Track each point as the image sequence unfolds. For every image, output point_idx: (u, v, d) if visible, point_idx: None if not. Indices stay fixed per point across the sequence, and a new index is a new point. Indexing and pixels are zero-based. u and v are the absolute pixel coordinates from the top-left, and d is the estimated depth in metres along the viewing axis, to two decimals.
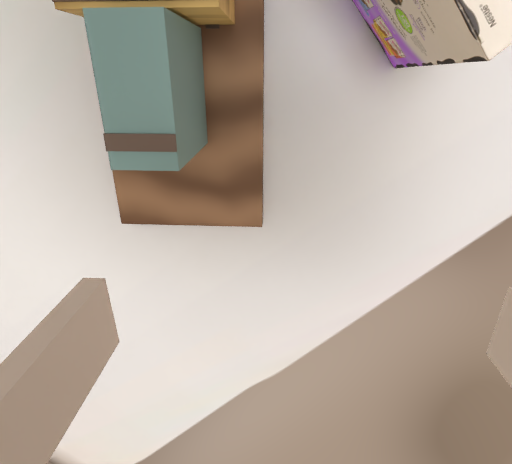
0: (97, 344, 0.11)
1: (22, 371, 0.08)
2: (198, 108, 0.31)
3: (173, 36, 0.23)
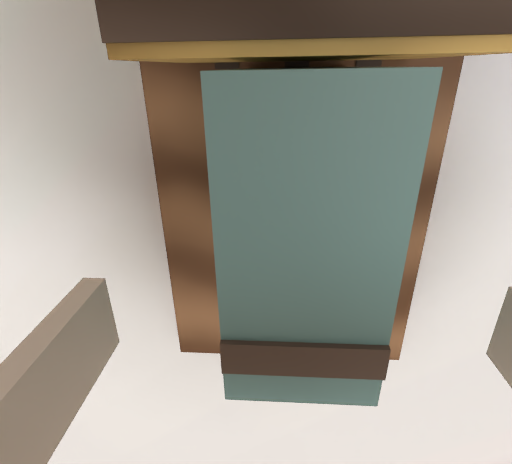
0: (97, 344, 0.11)
1: (22, 371, 0.08)
2: None
3: None
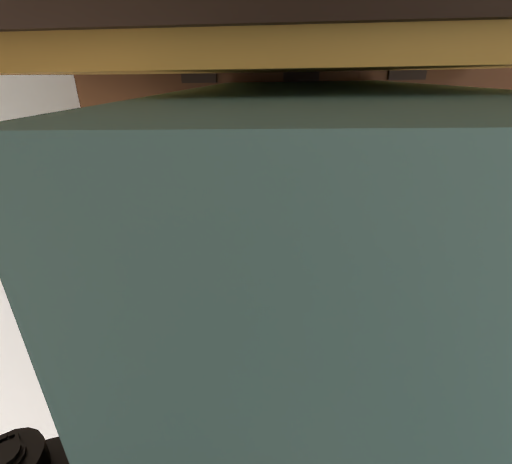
0: None
1: None
2: None
3: None
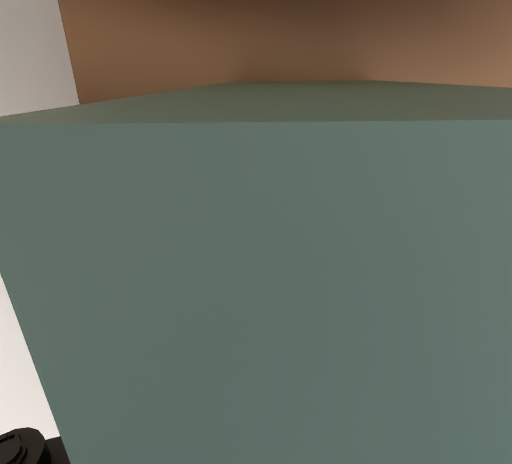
0: None
1: None
2: None
3: None
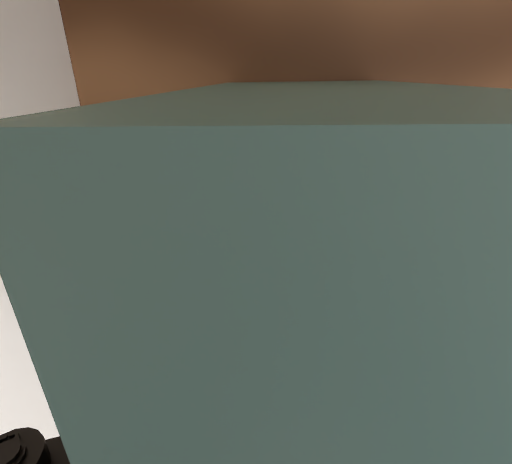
0: None
1: None
2: None
3: None
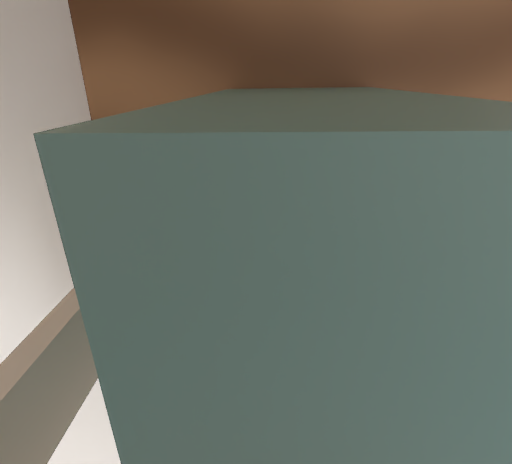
0: None
1: (22, 371, 0.08)
2: None
3: None
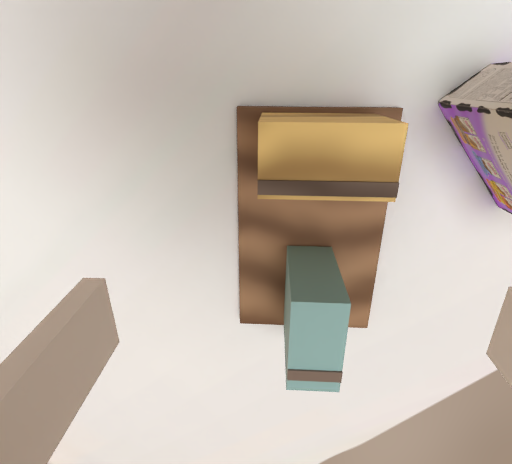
0: (97, 344, 0.11)
1: (22, 371, 0.08)
2: None
3: None
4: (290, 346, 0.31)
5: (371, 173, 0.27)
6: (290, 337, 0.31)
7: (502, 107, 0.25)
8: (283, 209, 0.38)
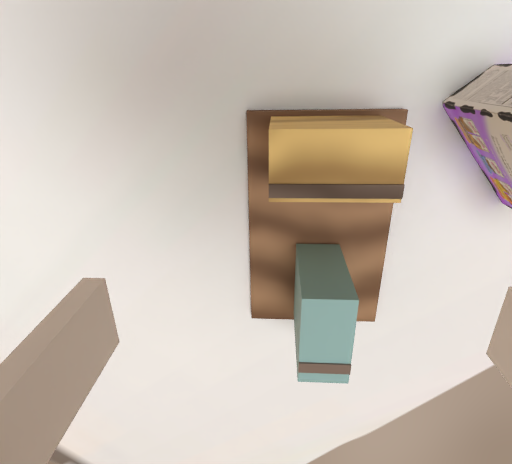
0: (97, 344, 0.11)
1: (22, 371, 0.08)
2: None
3: None
4: (301, 340, 0.33)
5: (378, 176, 0.28)
6: (301, 332, 0.32)
7: (503, 111, 0.26)
8: (292, 209, 0.39)
